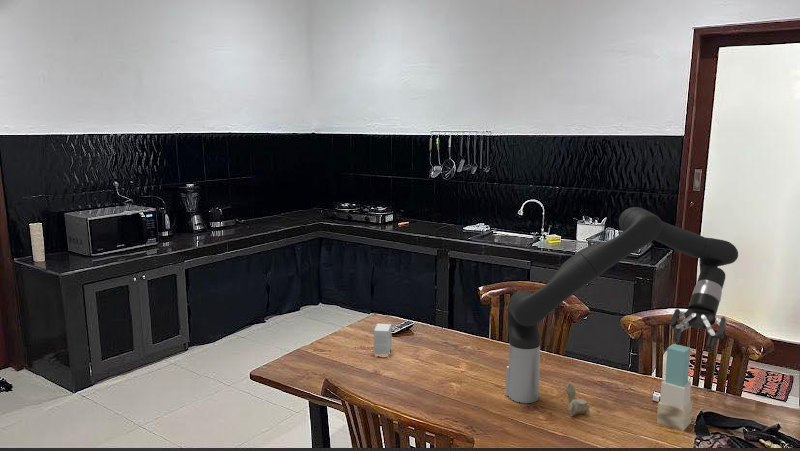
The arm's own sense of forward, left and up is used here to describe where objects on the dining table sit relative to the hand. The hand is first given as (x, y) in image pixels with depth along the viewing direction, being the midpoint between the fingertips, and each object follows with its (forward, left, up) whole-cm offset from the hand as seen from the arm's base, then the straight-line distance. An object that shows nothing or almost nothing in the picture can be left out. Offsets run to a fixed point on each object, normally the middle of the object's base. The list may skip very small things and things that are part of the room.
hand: (691, 345), depth 164 cm
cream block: (0, -11, -13) cm, 18 cm away
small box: (-98, -28, -20) cm, 104 cm away
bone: (-23, -24, -20) cm, 39 cm away
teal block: (0, -11, -7) cm, 14 cm away
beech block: (0, -12, -19) cm, 23 cm away
